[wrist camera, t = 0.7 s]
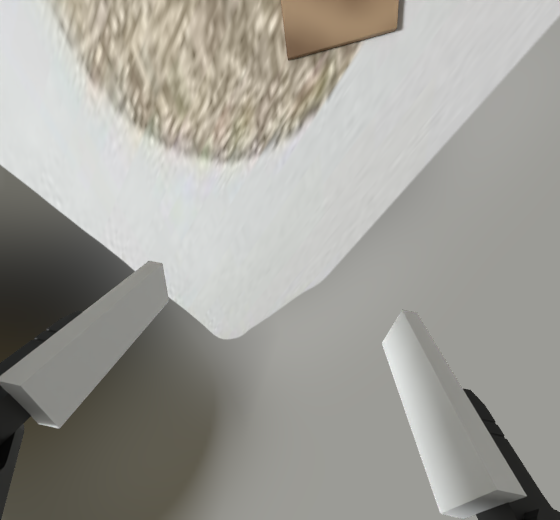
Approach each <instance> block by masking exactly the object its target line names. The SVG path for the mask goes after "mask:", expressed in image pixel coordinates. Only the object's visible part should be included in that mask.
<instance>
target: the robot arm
mask: <svg viewBox="0 0 560 520" xmlns="http://www.w3.org/2000/svg"><path fill="white" fill-rule="evenodd" d="M168 301H169V299H168V293H167V287H166V281H165V276H164V270H163V264H162V263H157V262H152V261H148V262H147V263H146V264H144V265H143V266H142V267H140V268H139V269H138V270H137V271H135V272H134V273H133V274H131V275H130V276H129V277H128V278H126V279H125V280H124V281H122V282H121V283H120V284H119V285H117V286H116V287H115V288H113V289H112V290H111V291H109V292H108V293H107V294H106V295H104V296H103V297H102V298H100V299H99V300H98V301H97V302H95V303H94V304H93V305H92V306H90V307H89V308H88V309H86V310H85V311H84V312H81V311H76V312H74V313H72V314H70V315H68V316H65V317H64V318H61V319H60V320H58V321H57V322H56V323H54V324H53V325H52V326H50V327H49V328H47V330H46V331H43V332H42V333H41V334H39V335H38V336H37V337H35V339H34V340H31V341H30V342H28V343H27V344H26V345H24V346H23V347H21V348H20V349H19V350H17V351H16V352H15V353H13V354H12V355H11V356H9V357H8V358H7V359H5V360H4V361H2V362H1V363H0V520H1V518H2V514H3V510H4V506H5V503H6V499H7V495H8V491H9V487H10V483H11V480H12V476H13V472H14V468H15V464H16V460H17V457H18V453H19V449H20V445H21V442H22V438H23V434H24V425H23V423H24V422H25V421H26V420H27V419H28V418H29V417H30V416H31V417H32V418H33V419H34V420H35V421H36V422H37V423H38V424H41V425H46V426H50V427H55V428H60V427H61V426H62V425H63V424H64V423H65V421H66V420H67V419H68V418H69V417H70V415H71V414H72V413H73V412H74V411H75V410H76V409H77V407H78V406H79V405H80V404H81V403H82V401H83V400H84V399H85V398H86V397H87V396H88V395H89V393H90V392H91V391H92V390H93V389H94V388H95V386H96V385H97V384H98V383H99V382H100V381H101V380H102V378H103V377H104V376H105V375H106V374H107V372H108V371H109V370H110V369H111V368H112V367H113V365H114V364H115V363H116V362H117V361H118V359H119V358H120V357H121V356H122V355H123V354H124V353H125V351H126V350H127V349H128V348H129V347H130V346H131V344H132V343H133V342H134V341H135V340H136V339H137V337H138V336H139V335H140V334H141V333H142V332H143V330H144V329H145V328H146V327H147V326H148V325H149V323H150V322H151V321H152V320H153V319H154V318H155V317H156V315H157V314H158V313H159V312H160V311H161V309H162V308H163V307H164V306H165V305H166V304H167V302H168ZM382 345H383V348H384V351H385V354H386V357H387V360H388V362H389V365H390V368H391V371H392V374H393V377H394V380H395V383H396V386H397V389H398V392H399V394H400V397H401V400H402V403H403V406H404V409H405V412H406V415H407V418H408V421H409V424H410V426H411V430H412V432H413V435H414V438H415V441H416V444H417V447H418V450H419V453H420V456H421V459H422V462H423V465H424V467H425V470H426V473H427V476H428V479H429V482H430V485H431V488H432V491H433V494H434V497H435V500H436V502H437V505H438V508H439V511H440V514H443V515H448V516H452V517H457V518H462V519H466V518H468V517H472V516H474V515H476V516H477V518H478V520H560V512H558V511H557V510H554V509H553V508H552V507H551V506H550V504H549V503H548V502H547V500H546V499H545V497H544V496H543V495H542V493H541V492H540V490H539V488H538V487H537V485H536V484H535V482H534V481H533V479H532V478H531V476H530V474H529V473H528V472H527V470H526V468H525V467H524V465H523V463H522V462H521V460H520V459H519V457H518V456H517V454H516V453H515V451H514V450H513V448H512V447H511V445H510V443H509V442H508V440H507V439H505V438H504V434H503V433H502V431H501V429H500V428H499V427H498V425H496V424H495V420H494V419H493V417H492V416H491V414H490V412H489V411H488V409H487V408H486V406H485V405H484V404H483V403H482V402H481V401H480V399H479V398H478V397H477V396H475V394H474V393H473V392H472V391H471V390H468V389H463V388H462V387H461V385H460V384H459V382H458V380H457V378H456V377H455V375H454V373H453V372H452V370H451V369H450V367H449V365H448V364H447V362H446V360H445V359H444V357H443V355H442V354H441V352H440V350H439V349H438V347H437V345H436V344H435V342H434V340H433V339H432V337H431V335H430V334H429V332H428V330H427V329H426V327H425V325H424V324H423V322H422V320H421V319H420V317H419V315H418V314H417V313H416V312H412V311H407V310H402V311H401V313H400V314H399V316H398V318H397V319H396V321H395V323H394V324H393V326H392V327H391V329H390V331H389V332H388V334H387V336H386V337H385V339H384V341H383V343H382Z"/></svg>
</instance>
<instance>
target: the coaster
mask: <svg viewBox="0 0 560 520" xmlns="http://www.w3.org/2000/svg"><path fill="white" fill-rule="evenodd" d="M398 3H399V0H281V6H282V14H283V23H284V31H285V40H286V48H287V57H288V60H292V59H296V58H299V57H303V56H306V55H310V54H314V53H317V52H321V51H324V50H328V49H332V48H335V47H339V46H343V45H346V44H350V43H353V42H357V41H361V40H364V39H368V38H371V37H375V36H379V35H382V34H386V33H390V32H393V31H395V30H396V28H397V19H398Z"/></svg>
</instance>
